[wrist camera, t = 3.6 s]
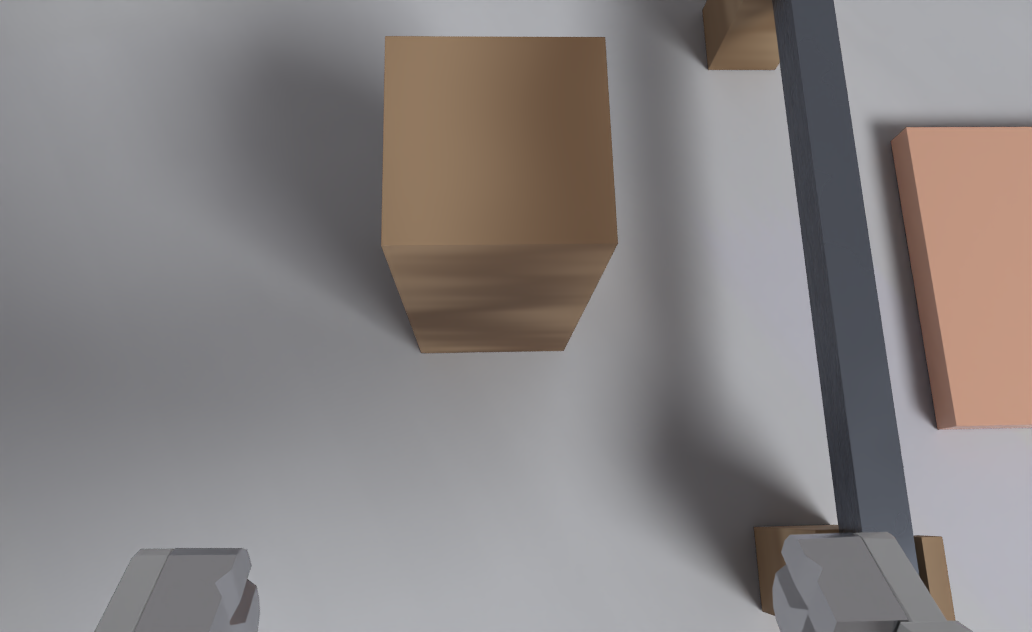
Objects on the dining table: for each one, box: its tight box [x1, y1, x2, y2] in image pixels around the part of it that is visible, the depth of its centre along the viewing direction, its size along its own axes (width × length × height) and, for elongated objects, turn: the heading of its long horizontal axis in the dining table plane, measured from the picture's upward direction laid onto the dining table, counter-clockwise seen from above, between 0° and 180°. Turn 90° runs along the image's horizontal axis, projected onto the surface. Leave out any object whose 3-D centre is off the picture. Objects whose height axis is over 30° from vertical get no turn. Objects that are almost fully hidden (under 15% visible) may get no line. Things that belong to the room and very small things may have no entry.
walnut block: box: [381, 36, 618, 353], centre depth 20 cm, size 4×4×10 cm
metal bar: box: [772, 0, 919, 575], centre depth 20 cm, size 1×21×1 cm, turn 1°
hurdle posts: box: [702, 0, 955, 621], centre depth 23 cm, size 3×20×5 cm, turn 2°
